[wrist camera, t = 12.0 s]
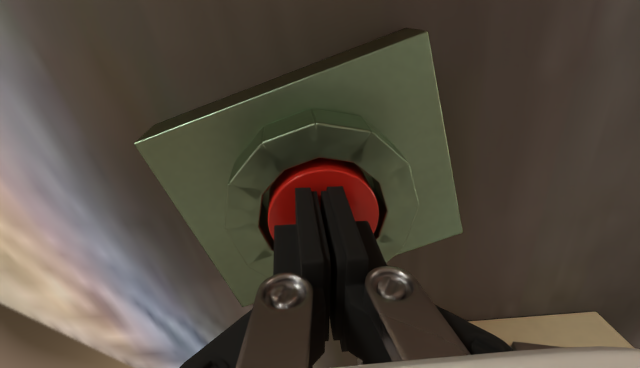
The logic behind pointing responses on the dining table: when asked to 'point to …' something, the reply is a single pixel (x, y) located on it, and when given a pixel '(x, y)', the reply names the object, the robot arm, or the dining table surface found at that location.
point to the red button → (318, 179)
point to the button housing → (312, 153)
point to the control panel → (556, 330)
